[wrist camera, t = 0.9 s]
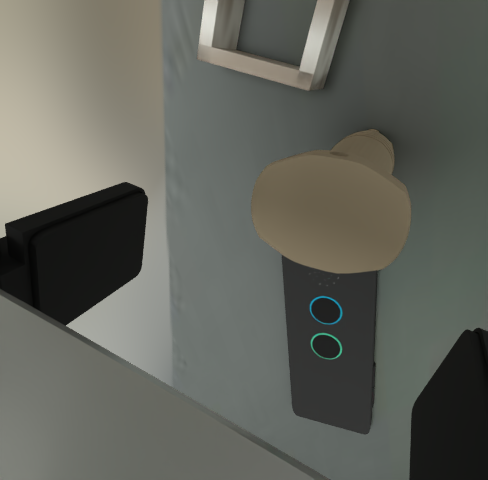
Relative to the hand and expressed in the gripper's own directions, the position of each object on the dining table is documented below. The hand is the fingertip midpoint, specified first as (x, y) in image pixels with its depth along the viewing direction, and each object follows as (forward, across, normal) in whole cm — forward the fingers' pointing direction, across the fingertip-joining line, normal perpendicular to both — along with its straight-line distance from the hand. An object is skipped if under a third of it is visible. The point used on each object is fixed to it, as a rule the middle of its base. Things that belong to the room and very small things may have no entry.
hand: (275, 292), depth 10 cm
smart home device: (+22, -3, +17) cm, 28 cm away
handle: (+21, 0, -1) cm, 21 cm away
